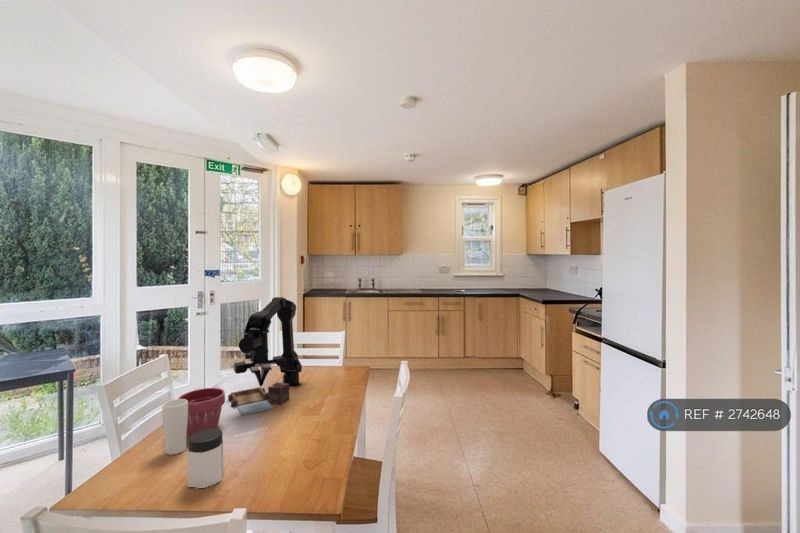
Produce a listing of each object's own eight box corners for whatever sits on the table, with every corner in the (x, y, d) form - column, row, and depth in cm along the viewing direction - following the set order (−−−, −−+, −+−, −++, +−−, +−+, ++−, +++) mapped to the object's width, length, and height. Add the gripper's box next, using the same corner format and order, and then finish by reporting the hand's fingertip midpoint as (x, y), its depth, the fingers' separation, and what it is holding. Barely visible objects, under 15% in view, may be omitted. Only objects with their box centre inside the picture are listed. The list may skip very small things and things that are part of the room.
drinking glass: (193, 446, 115) (192, 398, 115) (178, 457, 108) (177, 407, 108) (173, 445, 116) (172, 398, 116) (157, 456, 109) (156, 406, 109)
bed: (263, 393, 161) (262, 386, 161) (270, 402, 151) (270, 394, 151) (227, 400, 153) (227, 393, 153) (233, 410, 143) (232, 402, 143)
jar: (216, 466, 103) (215, 424, 103) (230, 477, 98) (229, 433, 98) (181, 481, 96) (181, 436, 96) (194, 494, 91) (193, 446, 91)
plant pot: (176, 446, 115) (175, 405, 115) (179, 428, 128) (178, 391, 128) (226, 435, 122) (225, 397, 122) (224, 419, 134) (224, 385, 134)
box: (289, 400, 152) (289, 383, 152) (280, 406, 146) (280, 388, 146) (277, 399, 154) (277, 382, 154) (268, 404, 148) (267, 386, 148)
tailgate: (266, 402, 150) (266, 400, 150) (271, 408, 142) (271, 406, 142) (237, 408, 144) (237, 406, 144) (241, 415, 136) (241, 412, 136)
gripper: (278, 339, 154) (279, 375, 154) (230, 345, 144) (231, 384, 144) (286, 344, 145) (287, 383, 145) (235, 351, 134) (236, 393, 135)
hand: (260, 385), depth 142 cm, fingers closed
